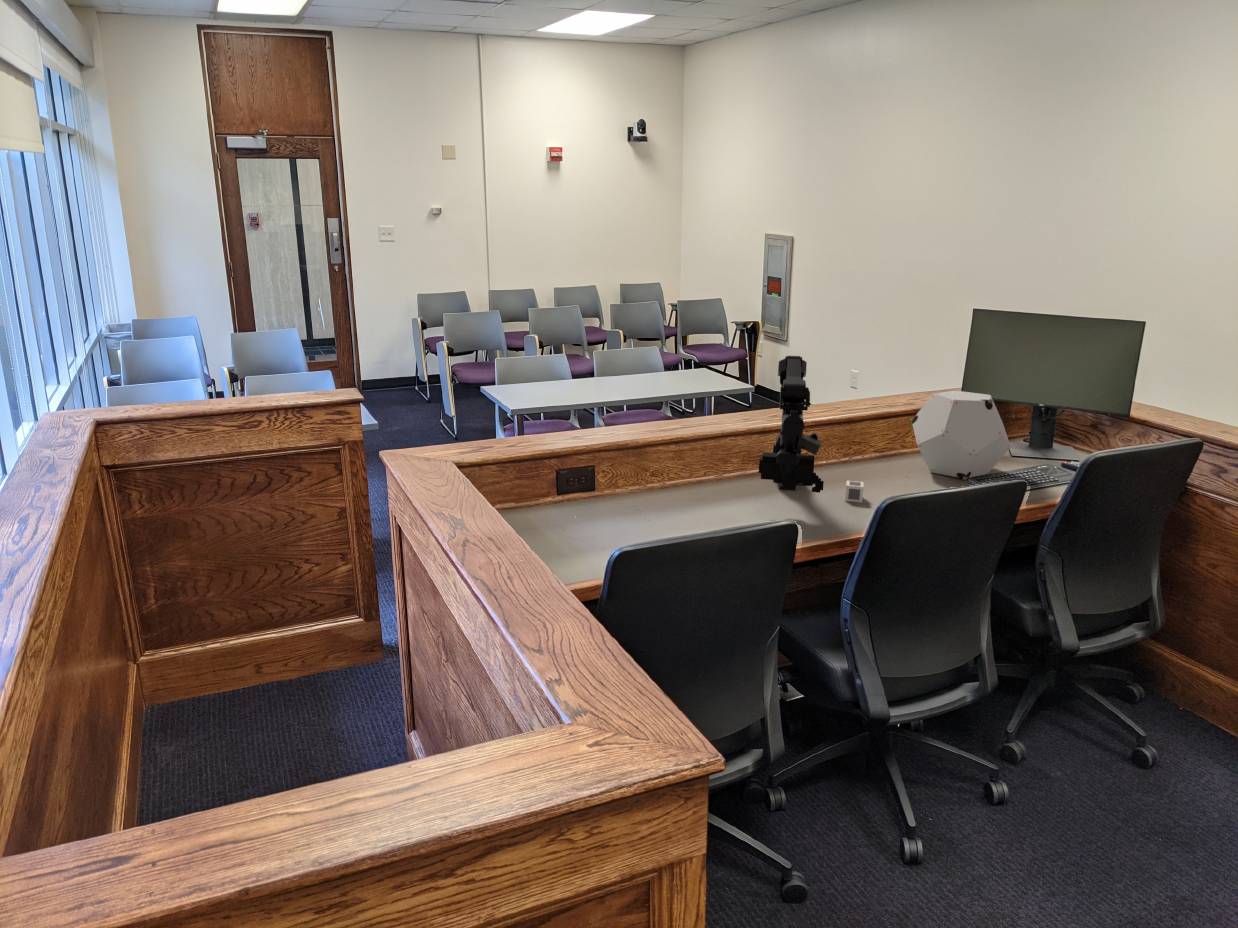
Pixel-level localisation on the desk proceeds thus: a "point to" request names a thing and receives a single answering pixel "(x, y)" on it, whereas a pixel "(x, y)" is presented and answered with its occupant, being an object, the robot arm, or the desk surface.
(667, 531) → the desk surface
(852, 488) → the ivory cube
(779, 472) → the security camera
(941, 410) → the geometric sculpture
